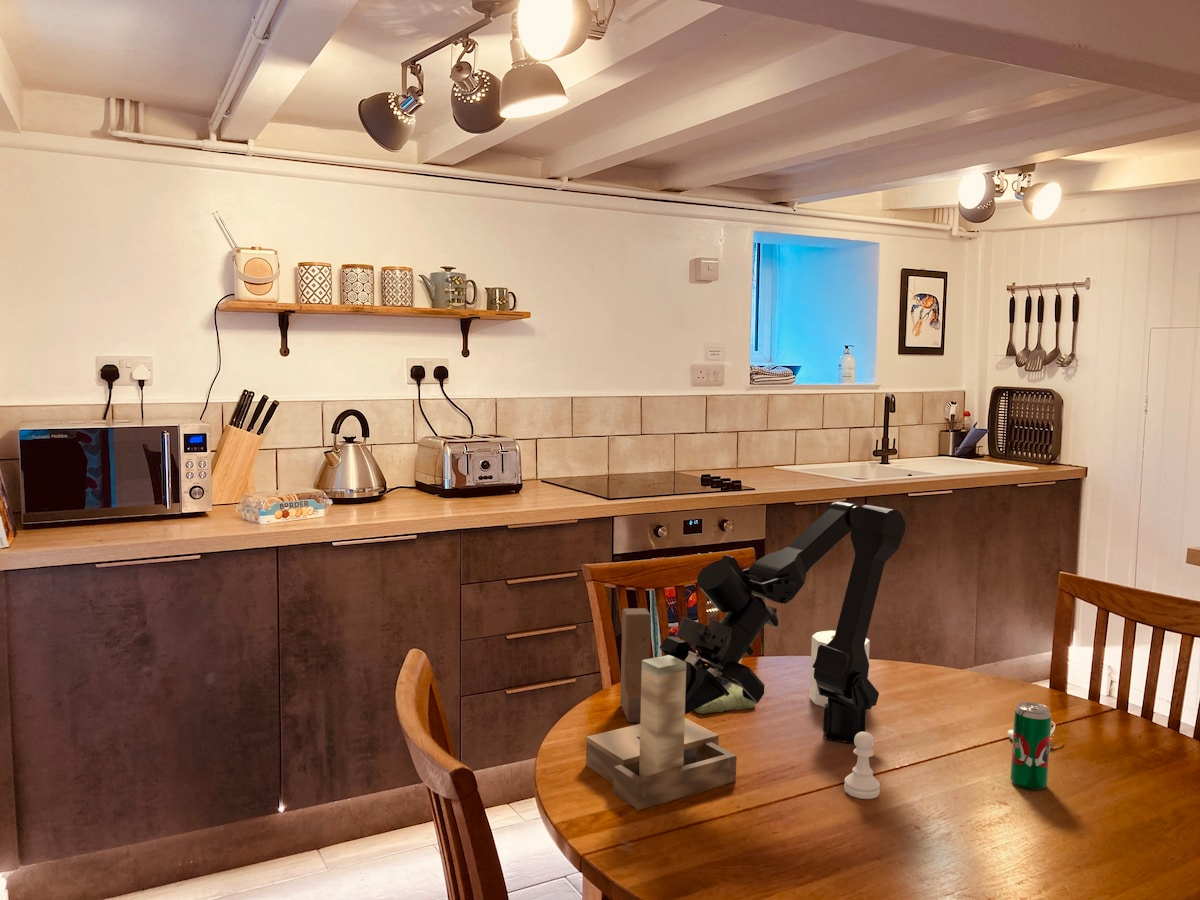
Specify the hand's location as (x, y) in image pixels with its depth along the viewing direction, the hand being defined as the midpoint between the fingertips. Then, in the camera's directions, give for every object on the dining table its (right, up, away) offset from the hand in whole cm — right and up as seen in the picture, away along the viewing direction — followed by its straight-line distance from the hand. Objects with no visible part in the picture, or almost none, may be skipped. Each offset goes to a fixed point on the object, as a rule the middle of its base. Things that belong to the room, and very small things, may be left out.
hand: (677, 714), depth 138 cm
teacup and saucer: (+61, -11, +24) cm, 66 cm away
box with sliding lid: (-2, -10, +5) cm, 12 cm away
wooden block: (-5, -8, +29) cm, 31 cm away
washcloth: (+9, -8, +39) cm, 41 cm away
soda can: (+53, -12, +4) cm, 54 cm away
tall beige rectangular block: (-3, -11, -1) cm, 11 cm away
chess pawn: (+27, -12, 0) cm, 29 cm away
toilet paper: (+33, -8, +38) cm, 51 cm away
